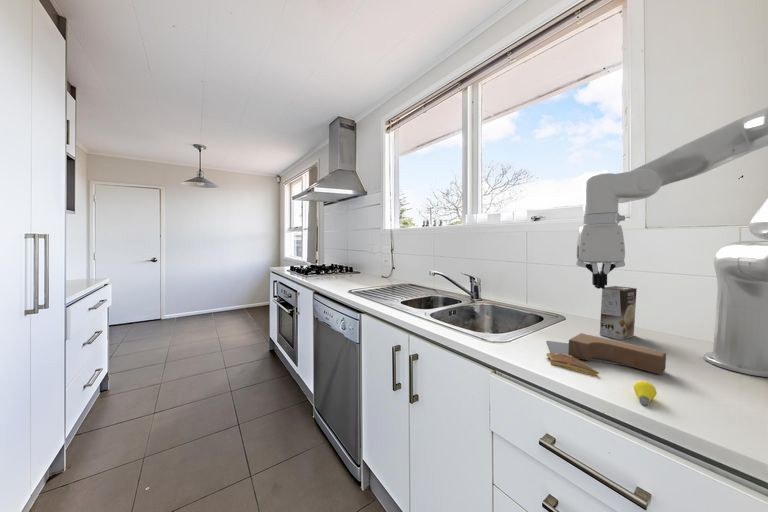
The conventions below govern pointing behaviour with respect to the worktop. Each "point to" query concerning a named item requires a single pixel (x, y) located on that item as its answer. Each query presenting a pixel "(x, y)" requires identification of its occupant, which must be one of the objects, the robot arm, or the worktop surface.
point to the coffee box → (618, 312)
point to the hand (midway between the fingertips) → (599, 287)
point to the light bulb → (644, 391)
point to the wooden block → (617, 353)
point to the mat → (564, 347)
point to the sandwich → (570, 363)
